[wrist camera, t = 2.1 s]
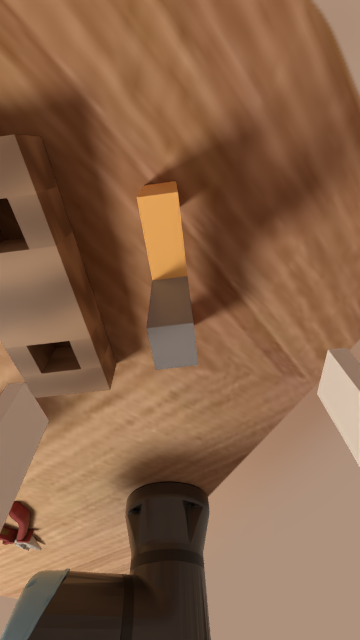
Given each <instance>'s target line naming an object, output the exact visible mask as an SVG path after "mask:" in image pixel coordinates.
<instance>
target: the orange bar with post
mask: <svg viewBox="0 0 360 640" xmlns="http://www.w3.org/2000/svg"><path fill="white" fill-rule="evenodd" d="M137 201H138V207H139V212H140V217H141V222H142V228H143V233H144V238H145V244H146V249H147V254H148V259H149V265H150V270H151V275H152V280H153V281H152V289H151V296H150V304H149V312H148V320H147V333H148V337H149V342H150V346H151V350H152V355H153V359H154V364H155V368H156V370H159V369H168V368H177V367H186V366H195V365H198V359H197V349H196V340H195V331H194V322H193V315H192V307H191V300H190V293H189V285H188V278H187V269H186V260H185V251H184V243H183V234H182V225H181V216H180V207H179V198H178V190H177V184H176V181H172V182H165V183H157V184H150V185H144V187H143V188H142V190H141V192H140V193H139V195H138V196H137Z"/></svg>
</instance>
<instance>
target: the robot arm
mask: <svg viewBox="0 0 360 640" xmlns="http://www.w3.org/2000/svg"><path fill="white" fill-rule="evenodd" d="M317 394H318V396H319V398H320V399H321V401H322V403H323V404H324V406H325V408H326V410H327V412H328V413H329V415H330V417H331V418H332V420H333V421H334V424H335V425H336V427H337V429H338V430H339V432H340V434H341V435H342V437H343V439H344V441H345V443H346V444H347V446H348V448H349V449H350V451H351V453H352V455H353V456H354V458H355V460H356V462H357V463H358V465H359V467H360V363H359V361H358V360H357V359H356V358H355V357H354V356H353V354H352V353H351V352H350V351H349V350H348V348H338V349H329V350H328V352H327V356H326V360H325V364H324V368H323V372H322V376H321V380H320V384H319V388H318V392H317ZM48 422H49V420H48V418H47V417H46V415H45V413H44V412H43V410H42V409H41V407H40V405H39V404H38V402H37V401H36V399H35V398H34V396H33V394H32V393H31V391H30V390H29V388H28V386H27V385H26V383H25V382H20V383H11V384H7V386H6V387H5V389H4V390H3V392H2V393H1V395H0V532H1V530H2V528H3V525H4V523H5V521H6V519H7V516H8V514H9V512H10V509H11V507H12V505H13V502H14V500H15V498H16V496H17V493H18V491H19V489H20V486H21V484H22V482H23V479H24V477H25V475H26V473H27V470H28V468H29V466H30V463H31V461H32V459H33V456H34V454H35V452H36V450H37V447H38V445H39V443H40V440H41V438H42V436H43V433H44V431H45V429H46V427H47V424H48ZM208 518H209V504H208V497H207V495H206V494H205V493H204V492H203V491H202V490H200V489H199V488H197V487H194V486H191V485H188V484H183V483H173V482H167V483H156V484H151V485H147V486H144V487H142V488H139V489H137V490H136V491H134V492H133V493H132V494H131V495H130V496H129V497H128V499H127V505H126V523H127V529H128V536H129V542H130V548H131V567H130V575H126V574H110V573H90V572H76V571H70V569H66V570H62V571H41V572H38V573H37V574H35V575H34V576H33V577H32V578H31V579H30V580H29V581H28V583H27V584H26V586H25V588H24V589H23V591H22V593H21V595H20V597H19V599H18V601H17V603H16V606H15V608H14V610H13V612H12V614H11V616H10V618H9V621H8V623H7V625H6V628H5V630H4V632H3V634H2V636H1V639H0V640H211V638H210V627H209V617H208V605H207V594H206V583H205V572H204V560H203V549H204V543H205V536H206V531H207V525H208Z"/></svg>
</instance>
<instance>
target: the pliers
mask: <svg viewBox="0 0 360 640" xmlns="http://www.w3.org/2000/svg"><path fill="white" fill-rule="evenodd" d="M9 515H10V517H11V518H12V519H14V520H15V521H16V522H17V523H18V524H19V531H18V530H15V529H12V528H9V527H6V526H4V525H3V528H2V530H1V532H0V540H3V544H5V545H7V544H9V543H10V544H12V543H15V545H16V546H18V547H20V548H23V549H26V550H28V551H29V549H30V548H32V549H37V550H41V549H42V548H41V547H40V545H39V544H38V543H37V541H36V540H35V538H34V537H33V536H32V534H33V531H34V530H33V529H28V526H29V521H30V512H29V510H28V509H26V508H25V507H24V506H23V505H22V504H21V503H19V502H13V505H12V507H11V509H10V512H9Z"/></svg>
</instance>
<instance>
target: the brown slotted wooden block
mask: <svg viewBox="0 0 360 640" xmlns="http://www.w3.org/2000/svg"><path fill="white" fill-rule="evenodd" d="M3 198H7V199H8V201H9V203H10V206H11V208H12V210H13V213H14V215H15V217H16V219H17V222H18V224H19V226H20V229H21V231H22V233H23V236H24V238H18V239H11V240H4V238H3V236H2V234H1V231H0V341H1V343H2V344H3V346H4V348H5V349H6V351H7V353H8V354H9V356H10V357H11V359H12V361H13V362H14V364H15V366H16V367H17V369H18V371H19V372H20V374H21V375H22V377H23V379H24V380H25V382H26V384H27V385H28V387H29V389H30V390H31V392H32V394H33V395H34V397H35V398H40V397H49V396H59V395H68V394H77V393H86V392H95V391H105V390H110V388H111V384H112V380H113V376H114V372H115V368H116V361H115V358H114V355H113V352H112V349H111V346H110V343H109V340H108V337H107V334H106V331H105V327H104V324H103V321H102V318H101V315H100V312H99V309H98V306H97V303H96V300H95V297H94V294H93V291H92V288H91V285H90V282H89V279H88V276H87V273H86V270H85V267H84V264H83V261H82V258H81V255H80V252H79V249H78V246H77V243H76V240H75V237H74V234H73V231H72V228H71V225H70V222H69V219H68V216H67V213H66V210H65V207H64V204H63V201H62V198H61V195H60V192H59V189H58V186H57V183H56V180H55V177H54V174H53V170H52V167H51V164H50V161H49V158H48V155H47V152H46V149H45V146H44V143H43V140H42V137H41V136H28V135H15V134H14V135H7V136H0V199H3ZM64 341H69V342H70V344H71V346H68V347H59V348H56V347H55V345H54V343H55V342H64Z"/></svg>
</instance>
